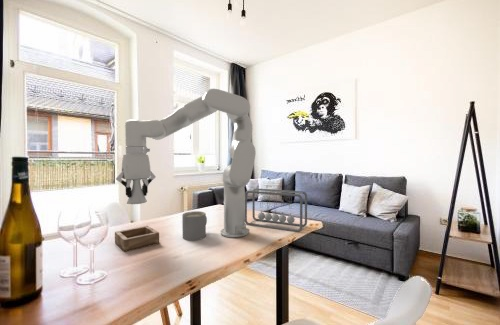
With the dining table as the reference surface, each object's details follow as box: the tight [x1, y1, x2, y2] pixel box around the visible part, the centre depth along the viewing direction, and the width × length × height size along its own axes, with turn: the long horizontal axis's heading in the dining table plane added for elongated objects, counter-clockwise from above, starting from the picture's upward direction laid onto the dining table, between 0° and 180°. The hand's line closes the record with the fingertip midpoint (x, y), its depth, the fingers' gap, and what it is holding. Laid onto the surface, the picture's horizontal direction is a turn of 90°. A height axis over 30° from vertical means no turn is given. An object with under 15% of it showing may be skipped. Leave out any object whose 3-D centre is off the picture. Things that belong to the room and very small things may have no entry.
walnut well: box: [114, 225, 160, 253], centre depth 98 cm, size 13×13×4 cm
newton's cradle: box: [245, 188, 308, 233], centre depth 123 cm, size 30×10×18 cm, turn 64°
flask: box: [126, 179, 147, 205], centre depth 98 cm, size 7×7×10 cm
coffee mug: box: [181, 210, 208, 241], centre depth 108 cm, size 13×10×10 cm
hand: (136, 195), depth 98 cm, fingers closed on flask, 5 cm apart
